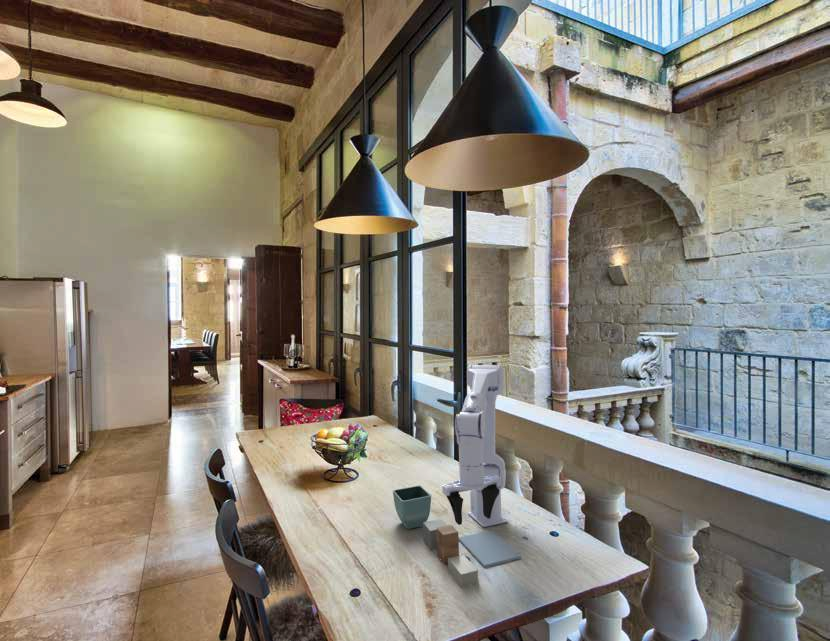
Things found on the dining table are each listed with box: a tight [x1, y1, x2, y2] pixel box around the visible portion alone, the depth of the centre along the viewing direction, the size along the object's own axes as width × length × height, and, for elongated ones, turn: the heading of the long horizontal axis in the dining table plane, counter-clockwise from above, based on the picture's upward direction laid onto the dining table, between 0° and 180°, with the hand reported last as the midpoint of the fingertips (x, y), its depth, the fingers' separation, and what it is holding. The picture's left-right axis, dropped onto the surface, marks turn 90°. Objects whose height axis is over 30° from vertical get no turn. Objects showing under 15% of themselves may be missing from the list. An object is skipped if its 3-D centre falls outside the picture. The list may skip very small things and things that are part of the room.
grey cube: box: [422, 518, 447, 551], centre depth 115 cm, size 5×5×5 cm
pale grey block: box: [447, 554, 479, 588], centre depth 100 cm, size 7×4×3 cm, turn 20°
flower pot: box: [392, 485, 432, 530], centre depth 126 cm, size 9×9×9 cm
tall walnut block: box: [436, 524, 460, 565], centre depth 108 cm, size 4×4×7 cm
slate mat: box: [459, 529, 522, 568], centre depth 112 cm, size 14×10×1 cm
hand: (472, 519), depth 106 cm, fingers open, 7 cm apart
